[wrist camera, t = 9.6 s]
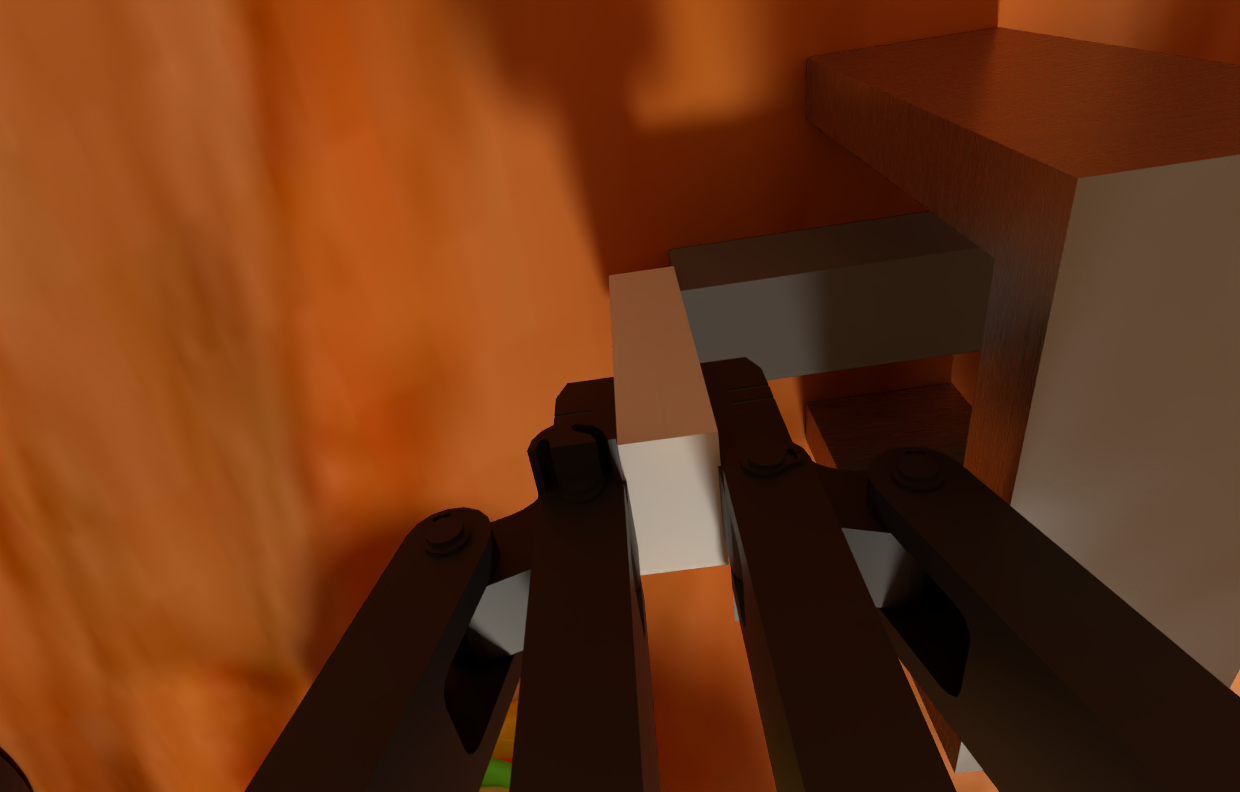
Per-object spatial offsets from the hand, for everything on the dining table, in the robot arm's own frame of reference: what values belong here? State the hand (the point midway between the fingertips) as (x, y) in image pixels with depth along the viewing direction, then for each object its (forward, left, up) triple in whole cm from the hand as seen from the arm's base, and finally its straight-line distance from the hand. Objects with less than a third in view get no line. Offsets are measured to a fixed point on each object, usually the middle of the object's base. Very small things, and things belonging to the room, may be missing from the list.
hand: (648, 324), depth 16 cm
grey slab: (+6, 0, -1) cm, 6 cm away
